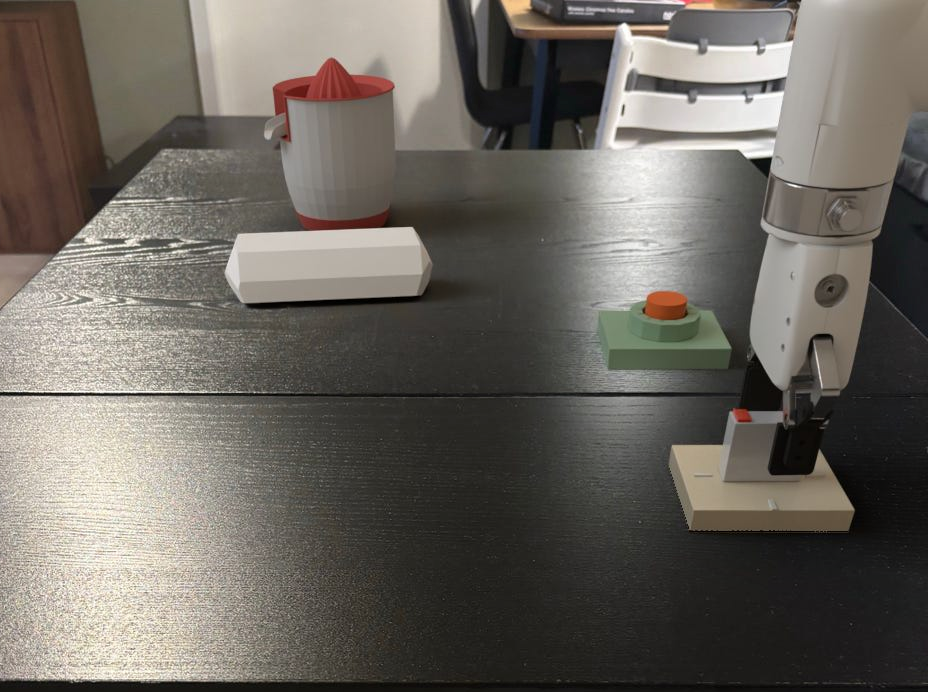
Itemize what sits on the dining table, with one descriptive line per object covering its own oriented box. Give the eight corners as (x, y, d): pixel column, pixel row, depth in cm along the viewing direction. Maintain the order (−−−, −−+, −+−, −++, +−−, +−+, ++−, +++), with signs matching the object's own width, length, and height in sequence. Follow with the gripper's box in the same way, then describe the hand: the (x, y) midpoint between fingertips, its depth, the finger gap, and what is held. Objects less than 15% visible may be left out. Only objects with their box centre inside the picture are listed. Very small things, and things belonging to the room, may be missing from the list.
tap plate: (811, 465, 79) (817, 442, 77) (848, 533, 71) (856, 509, 70) (668, 465, 79) (671, 442, 78) (689, 533, 71) (694, 508, 70)
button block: (708, 330, 101) (715, 293, 98) (728, 369, 93) (735, 330, 91) (596, 330, 101) (600, 293, 98) (607, 369, 93) (611, 330, 91)
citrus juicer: (263, 217, 133) (242, 53, 120) (379, 203, 138) (371, 43, 125) (291, 251, 122) (271, 74, 109) (416, 233, 127) (411, 62, 114)
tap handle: (793, 468, 74) (809, 407, 71) (800, 481, 73) (816, 420, 69) (717, 468, 74) (730, 408, 71) (723, 481, 73) (735, 420, 70)
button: (681, 307, 96) (683, 290, 95) (688, 322, 93) (690, 305, 92) (642, 307, 96) (644, 290, 95) (647, 322, 93) (649, 305, 92)
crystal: (218, 281, 102) (436, 271, 104) (218, 229, 105) (431, 221, 106) (230, 325, 109) (434, 316, 111) (230, 275, 112) (430, 267, 113)
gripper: (933, 246, 54) (857, 500, 65) (842, 166, 67) (792, 389, 78) (801, 250, 54) (749, 502, 65) (737, 169, 67) (702, 390, 79)
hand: (773, 440), depth 72 cm, fingers open, 9 cm apart
